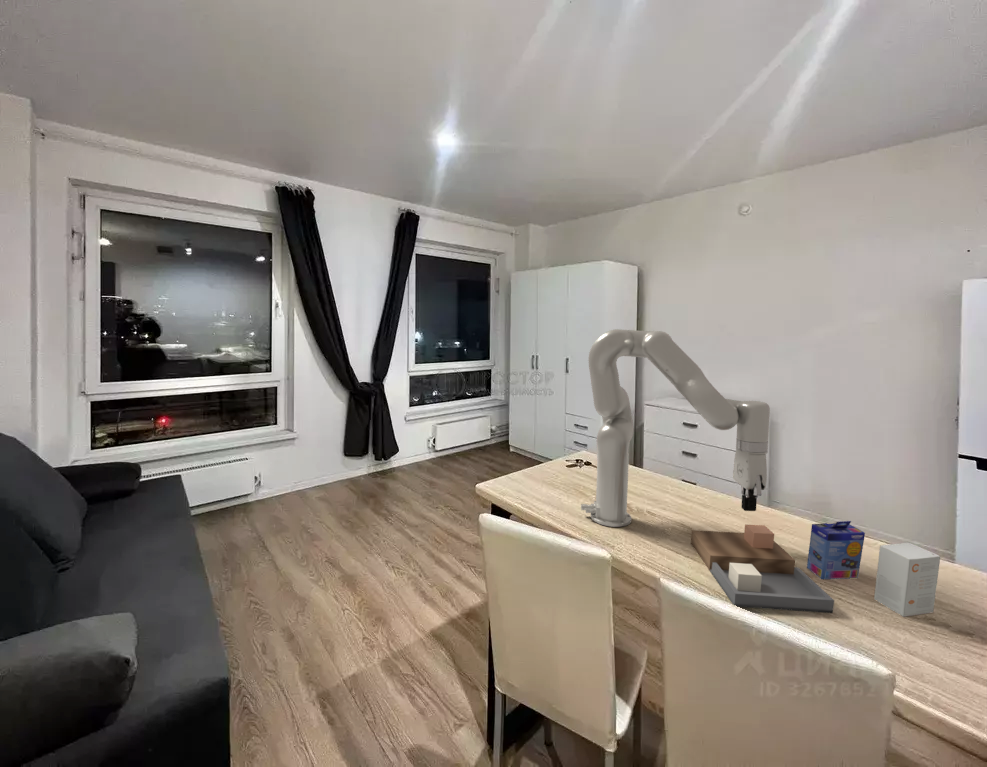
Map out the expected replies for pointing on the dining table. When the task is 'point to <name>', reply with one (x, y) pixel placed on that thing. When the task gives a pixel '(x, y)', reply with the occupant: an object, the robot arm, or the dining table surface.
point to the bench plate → (739, 552)
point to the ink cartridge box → (835, 550)
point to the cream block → (745, 577)
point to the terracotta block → (759, 536)
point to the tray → (778, 592)
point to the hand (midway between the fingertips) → (748, 509)
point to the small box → (907, 578)
